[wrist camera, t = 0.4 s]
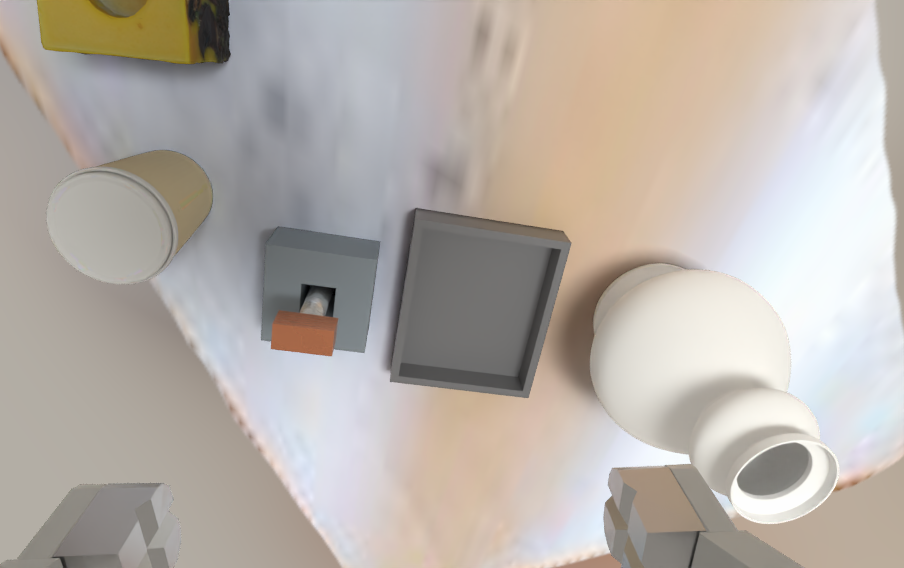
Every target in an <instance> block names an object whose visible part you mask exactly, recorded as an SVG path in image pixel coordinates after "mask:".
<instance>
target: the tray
mask: <svg viewBox="0 0 904 568" xmlns="http://www.w3.org/2000/svg"><path fill="white" fill-rule="evenodd" d="M570 246H571V242H570V240H569V239H568V237H567V236H566V235H565V233H564V232H563V231H559V230H552V229H546V228H540V227H533V226H527V225H521V224H514V223H508V222H501V221H495V220H489V219H482V218H476V217H469V216H463V215H457V214H450V213H444V212H437V211H431V210H425V209H418V208H416V211H415V217H414V224H413V230H412V236H411V243H410V249H409V255H408V262H407V268H406V274H405V281H404V287H403V294H402V300H401V306H400V313H399V319H398V325H397V332H396V338H395V345H394V351H393V357H392V364H391V375H390V382H397V383H405V384H414V385H422V386H431V387H439V388H447V389H456V390H464V391H473V392H481V393H489V394H498V395H506V396H515V397H523V398H529V394H530V390H531V387H532V383H533V380H534V376H535V372H536V369H537V365H538V362H539V358H540V354H541V351H542V347H543V344H544V340H545V336H546V333H547V329H548V326H549V322H550V318H551V315H552V311H553V308H554V304H555V300H556V297H557V293H558V290H559V286H560V282H561V279H562V275H563V272H564V268H565V264H566V261H567V257H568V254H569V250H570Z"/></svg>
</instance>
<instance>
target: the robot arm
mask: <svg viewBox="0 0 904 568" xmlns="http://www.w3.org/2000/svg"><path fill="white" fill-rule="evenodd" d="M608 486H609V489H610V491H611V494H612V496H611V497H610V498H609V499H608V500H607V501H606V502H605V507H604V531H605V536H606V540H607V544H608V547H609V550H610V553H611V555H612V556H613V557H614V558H615V559H616V560H618V561H619V562H620V563H621V564H622V566H621V568H804V567H803V566H801V565H800V564H798V563H796V562H795V561H793V560H792V559H790V558H788V557H787V556H785V555H784V554H782V553H780V552H779V551H777V550H776V549H774V548H773V547H771V546H770V545H768V544H766V543H765V542H763V541H761V540H760V539H759V538H757V537H755V536H754V535H752V534H751V533H749V532H748V531H738V530H737V528H736V527H735V525H734V524H733V522H732V521H731V519H730V518H729V516H728V515H727V513H726V512H725V510H724V509H723V507H722V506H721V504H720V503H719V501H718V500H717V498H716V497H715V495H714V494H713V492H712V491H711V489H710V488H709V486H708V485H707V483H706V482H705V480H704V479H703V477H702V476H701V474H700V473H699V471H698V470H697V468H696V467H695V466H693V465H692V464H681V465H665V466H647V467H623V468H612V470H611V472H610V474H609V480H608ZM173 500H174V499H173V496H172V492H171V489H170V486H169V485H167V484H164V483H127V484H126V483H124V484H97V485H96V484H80V485H78V486H77V487H75V488H73V489H71V490H70V492H69V493H68V494H67V495H66V497H65V498H64V499H63V500H62V502H61V503H60V504H59V506H58V507H57V508H56V509H55V511H54V512H53V513H52V515H51V516H50V517H49V518H48V520H47V521H46V522H45V523H44V525H43V526H42V527H41V529H40V530H39V531H38V533H37V534H36V535H35V536H34V538H33V539H32V540H31V541H30V543H29V544H28V545H27V546H26V548H25V549H24V550H23V552H22V553H21V554H20V555H19V557H18V558H17V559H16V560H6V561H5V562H3V563H1V564H0V568H174V566H175V564H176V562H177V559H178V554H179V549H180V545H181V528H180V524H179V519H178V518H177V517H176V516H175V515H173V514H172V513H171V512H170V511H169V508H170V506H171V504H172V502H173Z"/></svg>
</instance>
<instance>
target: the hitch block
mask: <svg viewBox="0 0 904 568" xmlns="http://www.w3.org/2000/svg"><path fill="white" fill-rule="evenodd" d="M379 247H380V242H379V241H372V240H366V239H359V238H352V237H345V236H339V235H332V234H325V233H318V232H312V231H305V230H298V229H291V228H285V227H278V228H277V229H276V230H275V232H274V233H273V235H272V236H271V237H270V239H269V240H268V242H267V243H266V247H265V268H264V288H263V309H262V330H261V340H264V341H271V339H272V323H273V321H274V319H275V317H276V315H277V313H278V311H279V310H281V311H289V312H296V313H300V310H301V308H302V306H303V303H304V301H305V299H306V296H307V294H308V291H309V285H316V286H323V287H330V288H336V293H335V295H332V296H331V299H330V302H329V305H328V308H327V311H326V314H325V316H327V317H335V318H338V326H337V335H336V343H335V347H334V349H336V350H345V351H353V352H361V353H364V352H365V346H366V341H367V335H368V329H369V322H370V314H371V307H372V299H373V292H374V284H375V277H376V269H377V262H378V254H379Z"/></svg>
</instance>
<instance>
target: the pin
mask: <svg viewBox="0 0 904 568" xmlns="http://www.w3.org/2000/svg"><path fill="white" fill-rule="evenodd" d="M333 290H334V288H330V287H323V286H316V285H311V287H310V289H309V292H308V294H307V296H306V299H305V301H304V303H303V306H302V308H301V310H300V313H296V312H289V311H281V310H279V311H278V313H277V315H276V317H275V319H274V321H273V323H272V339H271V349H276V350H284V351H292V352H300V353H308V354H316V355H325V356H332V354H333V350H334V347H335V343H336V335H337V326H338V318H335V317H327V316H325V314H326V311H327V308H328V305H329V302H330V299H331V296H332V293H333Z"/></svg>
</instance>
